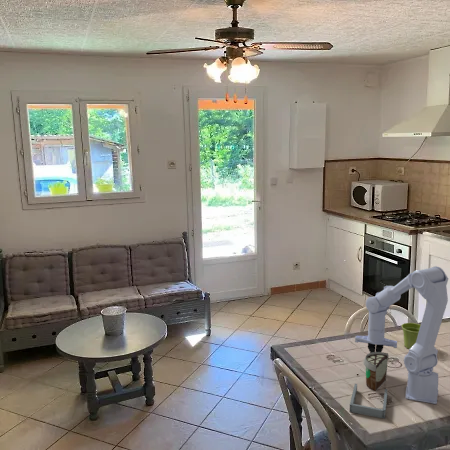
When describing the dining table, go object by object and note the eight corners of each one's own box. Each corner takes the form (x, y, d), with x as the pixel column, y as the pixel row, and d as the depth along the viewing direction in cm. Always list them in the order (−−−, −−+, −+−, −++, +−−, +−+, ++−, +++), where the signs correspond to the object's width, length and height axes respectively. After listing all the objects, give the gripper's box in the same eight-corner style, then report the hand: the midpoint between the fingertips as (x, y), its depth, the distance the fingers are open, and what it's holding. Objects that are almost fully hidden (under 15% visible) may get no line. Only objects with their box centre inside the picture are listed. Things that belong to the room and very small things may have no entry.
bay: (387, 396, 155) (387, 389, 154) (384, 418, 142) (385, 411, 142) (354, 390, 159) (354, 383, 158) (349, 411, 146) (349, 404, 146)
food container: (370, 373, 170) (371, 348, 168) (387, 378, 166) (388, 352, 164) (356, 387, 160) (357, 360, 159) (374, 393, 157) (375, 366, 155)
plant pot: (426, 345, 193) (427, 325, 191) (422, 354, 185) (423, 333, 183) (403, 340, 198) (404, 321, 196) (398, 348, 190) (399, 328, 188)
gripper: (398, 326, 170) (396, 361, 172) (357, 321, 175) (356, 354, 177) (397, 333, 163) (395, 369, 166) (355, 328, 169) (353, 363, 171)
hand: (374, 362), depth 171 cm, fingers closed
